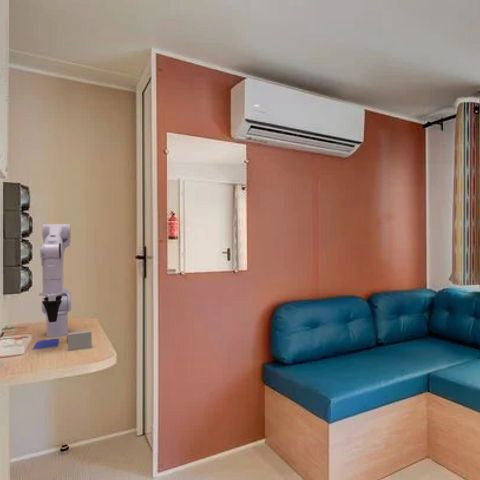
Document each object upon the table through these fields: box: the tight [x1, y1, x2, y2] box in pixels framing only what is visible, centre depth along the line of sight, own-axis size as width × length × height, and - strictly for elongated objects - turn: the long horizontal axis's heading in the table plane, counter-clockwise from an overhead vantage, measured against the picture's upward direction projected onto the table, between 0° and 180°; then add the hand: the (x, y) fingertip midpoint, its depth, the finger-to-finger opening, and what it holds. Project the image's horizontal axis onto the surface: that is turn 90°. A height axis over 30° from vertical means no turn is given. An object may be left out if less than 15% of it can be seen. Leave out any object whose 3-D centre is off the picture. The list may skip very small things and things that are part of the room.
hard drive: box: [32, 338, 60, 351], centre depth 125 cm, size 2×8×12 cm
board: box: [67, 330, 93, 352], centre depth 119 cm, size 2×7×6 cm, turn 116°
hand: (53, 319), depth 122 cm, fingers open, 7 cm apart
